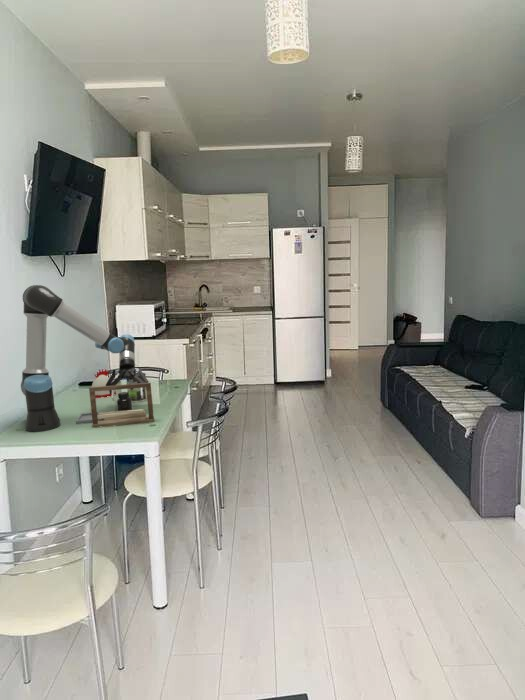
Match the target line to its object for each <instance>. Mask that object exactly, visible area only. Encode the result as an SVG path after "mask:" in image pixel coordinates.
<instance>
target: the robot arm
mask: <svg viewBox="0 0 525 700" xmlns="http://www.w3.org/2000/svg"><path fill="white" fill-rule="evenodd" d="M22 293H23V294H22V302H23V315H24V316H25V317H26V347H25V348H26V349H25V352H26V353H25V368H24V369H23V370H22V373H21V374H22V375H21V382H20V390H21V392H22V394H23V395H24V396H25V402H26V411H27V414H26V420H25V424H24V429H26V430H28V431H27V432H32V431H36V432H43V431H50V430H53V429H56V428H58V427H60V426H61V424H62V423H61V419H60V417H59V415H58V412H57V411H56V406H55V399H54V391H53V390H54V389H53V381H52V377H51V376H49V375H50V371H49V370H48V369H47V368H46V366H47V365H46V364H47V363H46V362H47V361H46V359H47V358H46V357H47V319H48V317H50V318H52V317H54V318H56V319H57V320H59V321H61V322H62V323H64V324H65V325H67V326H69V327H71V329H74V330H75V331H77V332H78V333H80V334H81V335H83V336H84V337H86V338H88V339H89V340H90V341H92V342H94V346H95V348H96V349H100V350H103V351H104V350H105V351H107V352H110V353H111V354H119V356H118V357H119V358H118V359H119V361H118V362H119V364H118V365H119V370H116V369H113V370H112V374H111V375H110V377H109V380H108V381H107V383H106V386H114V385H119V382H121V381H122V380H123V379H125V380H127V378H133V379H135V380H136V381H137V382H139V383H149V380H148V379H147V376H146V375H145V376H146V377H145V376H144V374H143V373H144V372H143V371H142V368H141V367H138V368H136V363H135V361H136V357H135V356H136V355H135V353H136V351H135V349H136V348H135V345H136V344H135V338H134V336H132V335H131V334H122V335H121V336H120V337H118V336H115V335H114V334H113V333H111V332H109V331H108V330H106V329H105V328H103V327H102V326H100V325H99V324H98V323H95V322H94V321H93V320H91V319H89V318H88V317H86V316H85V315H83V314H82V313H80V312H79V311H77V310H75V309H74V308H73V307H71V306H69V305H67V303H65V302H64V299H62V298H61V297H60V296H59V295H57V294H56V293H55V292H53V291H52V290H51V289H50V288H49V287H47V286H45V285H42V284H33V285H30V286H28V287H26V289H25V290H24V292H22ZM135 373H138V374H140V376H141V377H142V379H143V380H144V381H142V380H141V379H140V378H139V377H138V376H137V375H136V374H135ZM116 376H117V377H116ZM144 391H145V387H142V388H141V398H143V392H144ZM109 392H110V394H112V396H111V400H112V402H114V401H115V395H114V390H109ZM26 430H25V431H26Z"/></svg>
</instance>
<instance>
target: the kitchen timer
mask: <svg viewBox="0 0 525 700" xmlns="http://www.w3.org/2000/svg"><path fill="white" fill-rule="evenodd" d="M109 372H110V371H109V370H107V369H106V368H105V369H103V368H102V369H99V370H98V371H96V374H95V373H94V376H95V377H94V378H95V379H93V381H92V384H91V387H102V386H106V383H107V381H108V380H109V378H110V377H109ZM114 394H115V395H116V394H117V390H114ZM111 395H112V394H110V392H109V390H106V391H95V398H96V399H102V398H101V397H104V398H108V397H107V396H110V397H112V396H111Z"/></svg>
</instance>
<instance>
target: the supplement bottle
mask: <svg viewBox="0 0 525 700" xmlns="http://www.w3.org/2000/svg"><path fill="white" fill-rule="evenodd" d="M117 396H118V398H117V401H116V409H117V411H127V410H133V402H132V401H131V398H129V393H128V391H123V392H122V391H121V392H118V394H117Z"/></svg>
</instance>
